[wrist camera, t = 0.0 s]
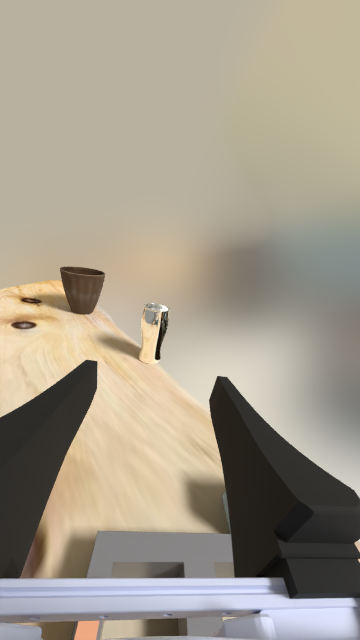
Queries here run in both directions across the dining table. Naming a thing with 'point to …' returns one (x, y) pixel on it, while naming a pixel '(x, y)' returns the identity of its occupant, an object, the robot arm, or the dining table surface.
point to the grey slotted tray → (159, 567)
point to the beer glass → (153, 331)
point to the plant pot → (82, 288)
